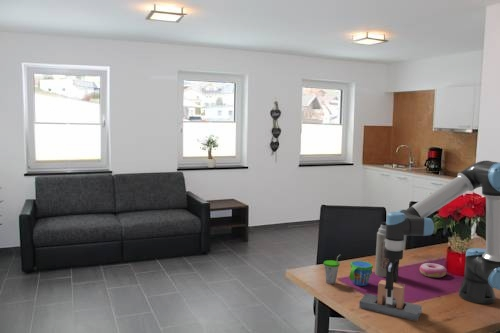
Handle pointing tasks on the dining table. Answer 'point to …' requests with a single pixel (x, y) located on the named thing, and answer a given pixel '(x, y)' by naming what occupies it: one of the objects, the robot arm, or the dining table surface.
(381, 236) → the thermos bottle
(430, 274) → the donut
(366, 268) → the snack cup
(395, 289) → the tan bridge block
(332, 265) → the cup
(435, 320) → the dining table surface
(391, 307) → the rail
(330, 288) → the dining table surface
